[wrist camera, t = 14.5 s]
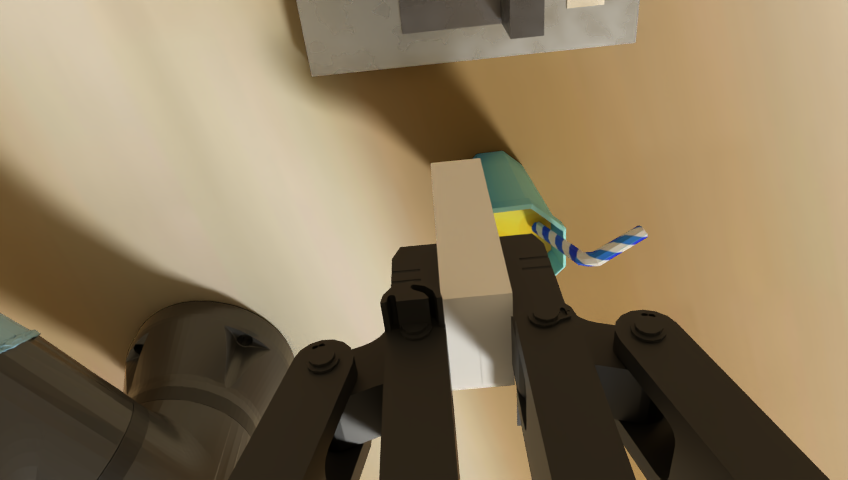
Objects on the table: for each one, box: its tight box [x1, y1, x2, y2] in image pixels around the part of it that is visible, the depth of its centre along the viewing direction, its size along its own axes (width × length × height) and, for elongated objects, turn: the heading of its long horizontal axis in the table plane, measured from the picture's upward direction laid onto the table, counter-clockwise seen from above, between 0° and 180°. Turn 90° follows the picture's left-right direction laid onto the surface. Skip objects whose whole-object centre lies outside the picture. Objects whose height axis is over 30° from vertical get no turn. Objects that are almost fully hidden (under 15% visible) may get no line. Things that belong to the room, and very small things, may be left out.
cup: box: [473, 151, 648, 276], centre depth 41 cm, size 14×8×15 cm, turn 120°
